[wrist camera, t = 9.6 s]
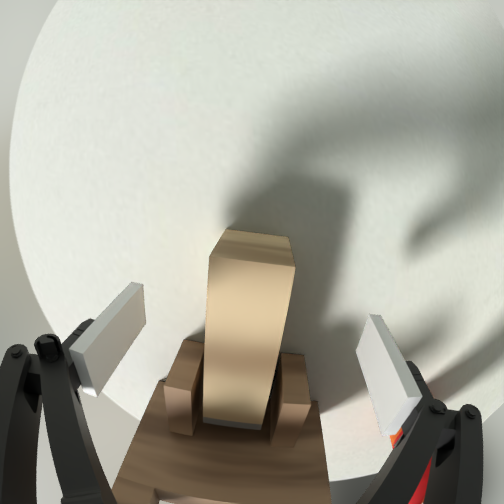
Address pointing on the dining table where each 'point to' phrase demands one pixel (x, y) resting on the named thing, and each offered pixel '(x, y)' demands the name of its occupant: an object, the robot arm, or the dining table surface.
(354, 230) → the dining table surface
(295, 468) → the brown notched piece
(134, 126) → the dining table surface
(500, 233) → the dining table surface
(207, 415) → the tan wooden block
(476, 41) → the dining table surface
